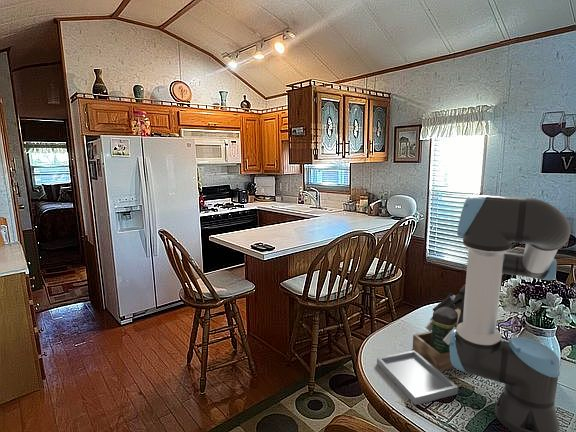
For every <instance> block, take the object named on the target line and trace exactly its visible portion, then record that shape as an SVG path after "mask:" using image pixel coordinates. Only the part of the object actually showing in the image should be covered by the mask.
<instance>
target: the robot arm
mask: <svg viewBox="0 0 576 432" xmlns="http://www.w3.org/2000/svg"><path fill="white" fill-rule="evenodd" d="M463 203H464V204H463V206H462V209H461V212H460V217H459V220H458V224H457V225H458V227H457V231H456V232H457V233H456V234H457V236H458V237H460V238H462V244H463V246H464V247H465V248H466V249H467V250H468V251H467V260H466V261H467V264H466V275H465V277H466V278H465V284H463V286H462V287H461V288H460V290H459V293H458V294H456V295H455V294H453V293H452V292H450V293H449V294H448V295H447V296H446V297H445V298H444V299H443V300H442V301H440V302H439V303H438V304H437V305H435V306H434V307H433V308H432V311H433V312H434V311H436V310H437V309H438V308H441V307H444V306H445V307H448V308H452V309H454V310H456V309H459V310H461V313H460V317H459V321H458V324H457V326H456V327H457V328H456V327H455V326H454V327H453V329H452V330H451V331H450V332H449V333H448V334H447V336H446V337H445V338H444V339H443V341H444V342H445V343H446V344H448V345H449V344H450V360H451V363H452V365H453V366H454V367H455V368H454V369H456V370H458V371H461V372H464V373H466V374H468V375H469V374H471V375H473V376H477V377H479V378H484V379H487V380H491V381H494V382H497V383H500V384H501V383H502V384H504V389H503V390H502V392H501V394H500V395H499V397H498V398H497V400H496V402H495V407H494V413H495V417H496V418H497V420H498V421H499V422H500V423H501V425H502V426H504V427H505V428H506V429H507V428H508V431H511V432H560V423H559V420H558V417H557V412H556V407H555V402H556V395H557V387H558V380H559V377H560V375H561V374H560V373H561V371H560V366H561V364H560V358H559V356H558V354H557V353H556V352H555V351H554V350H553V349H552V348H550V347H549V346H547V345H545V344H543V343H541V342H539V341H537V340H535V339H531V338H528V337H524V336H514V337H512V338H510V340H509V341H506V340H503V339H502V334H501V333H500V331H499V330H498V329H497V321H498V313H499V304H500V294H501V285H502V276H503V275H504V274H505V275H512V276H516V277H517V276H518V277H519V276H520V277H525V278H531V279H535V280H536V279H537V280H541V281H543V280H545V281H553V280H555V278H556V275H557V267H558V266H557V263H558V262H557V260H556V258H555V256H556V254H557V253H558V250H560V249H562V248H563V247H564V246H565V245H566V244H567V243H568V241H569V239H570V236H571V226H570V225H571V224H570V223H569V220H568V219H567V217H566V216H565V215H564V213H563V212H562V211H561V210H559V209H558V207H557V208H556V207H555V206H554V205H552V204H550V203H549V202H547V201H545V200H542V199H538V198H533V197H516V196H515V197H512V196H501V195H500V196H498V195H487V194H485V195H471V196H468V197H467V198H466V199H465V200H464V202H463ZM513 243H514V244H515V243H518V244H525V245H524V246H525V247H524V252H523V253H514V252H510V250H511V249H512V244H513ZM424 328H425V329H426V330H427V332H431V331H432V317H431V318H430V319H429V322H428V323H427V324H426V325H425V327H424Z"/></svg>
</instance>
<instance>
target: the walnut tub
mask: <svg viewBox="0 0 576 432" xmlns="http://www.w3.org/2000/svg"><path fill="white" fill-rule="evenodd" d="M431 333H432V330H431V332H430V331H425V332H420V333H414V334H413V336H412V348H413V349H414V350H415V351H416V352H417V353H419V354H420V355H421V356H422V357H423V358H424V359H426V360H427V361H428V362H429V363H430V364H432V365H433V366H434V367H435V368H436V369H438V370H439V371H440V372H442V371H446V370H447V371H448V370H451V369H456V368H455V367H454V366H453V365H452V363H451V360H450V352H447V353H442V354H440V353H439V352H438V351H436V350H435V349H434V348H433V347H431V346H430V342H431ZM413 349H412V350H413Z"/></svg>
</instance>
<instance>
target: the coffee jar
mask: <svg viewBox="0 0 576 432" xmlns="http://www.w3.org/2000/svg"><path fill="white" fill-rule="evenodd" d="M431 318H432V330H431V331H432V333H431V342H430V346H431V347H433V348H434V349H435V350H436V351H438V352H439V353H440V354H442V353H447V352H450V344H449V345H448V344H446V343H445V342H444V341H443V339H444V338H445V337H446V336H447V334H448V333H449V332H450V331H451V330H452V329H453V327H454V326H455V327H456V326H457V321H458V313H457V312H456V311H455V310H454V309H452V308H448V307H445V306H444V307H441V308H438V309H437V310H436V311H433V313H432V316H431ZM456 328H457V327H456Z"/></svg>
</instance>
